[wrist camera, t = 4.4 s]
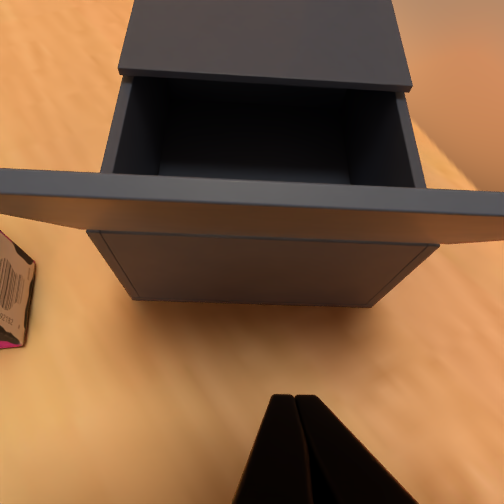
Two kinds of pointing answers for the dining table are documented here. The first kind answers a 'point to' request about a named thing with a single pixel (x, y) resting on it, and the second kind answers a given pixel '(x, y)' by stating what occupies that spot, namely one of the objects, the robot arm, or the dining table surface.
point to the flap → (251, 207)
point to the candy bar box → (14, 292)
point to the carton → (262, 141)
